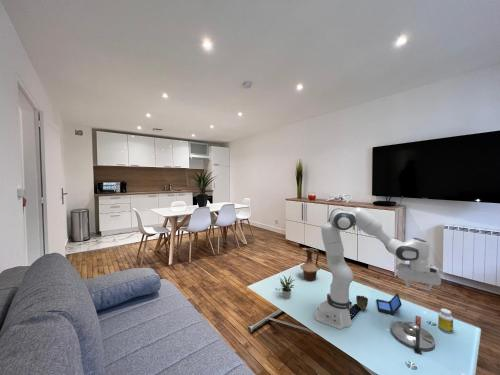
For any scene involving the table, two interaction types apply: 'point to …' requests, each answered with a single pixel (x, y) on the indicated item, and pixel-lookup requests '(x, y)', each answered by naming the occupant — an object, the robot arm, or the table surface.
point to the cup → (362, 302)
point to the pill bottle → (445, 321)
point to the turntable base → (411, 346)
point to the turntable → (425, 336)
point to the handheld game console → (389, 305)
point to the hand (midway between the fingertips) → (417, 288)
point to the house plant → (286, 287)
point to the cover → (409, 329)
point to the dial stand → (417, 339)
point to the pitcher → (310, 265)
